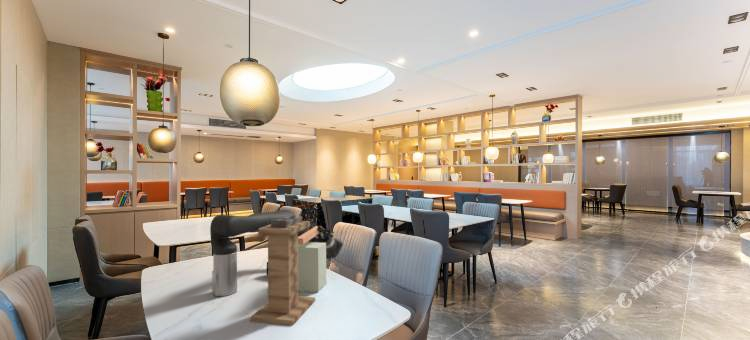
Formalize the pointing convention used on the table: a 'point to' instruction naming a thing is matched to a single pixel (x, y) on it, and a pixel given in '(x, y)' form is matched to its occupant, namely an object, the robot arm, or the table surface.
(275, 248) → the stand
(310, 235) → the block
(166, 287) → the table surface
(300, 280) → the pedestal
